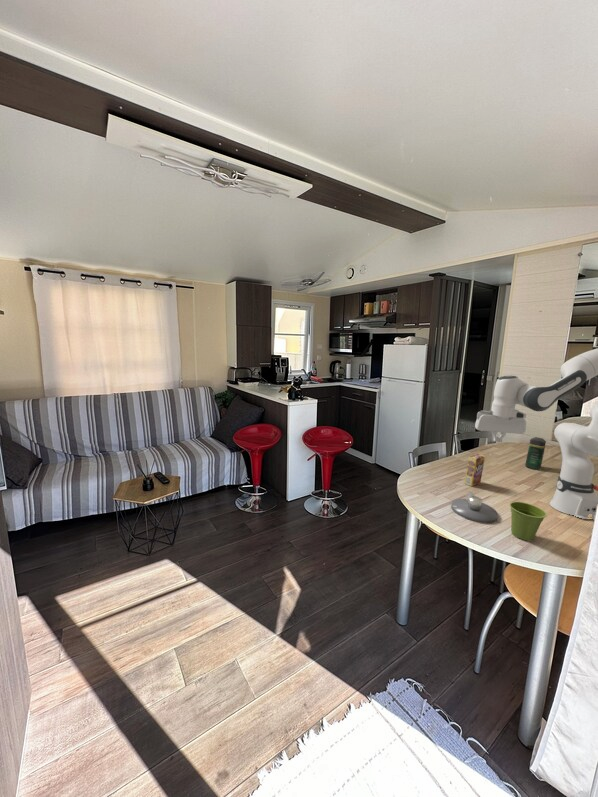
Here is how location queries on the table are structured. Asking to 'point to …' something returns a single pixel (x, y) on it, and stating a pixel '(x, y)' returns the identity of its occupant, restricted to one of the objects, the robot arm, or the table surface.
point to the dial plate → (474, 511)
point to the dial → (474, 501)
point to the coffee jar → (535, 453)
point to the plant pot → (525, 520)
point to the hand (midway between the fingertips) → (497, 441)
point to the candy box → (474, 469)
